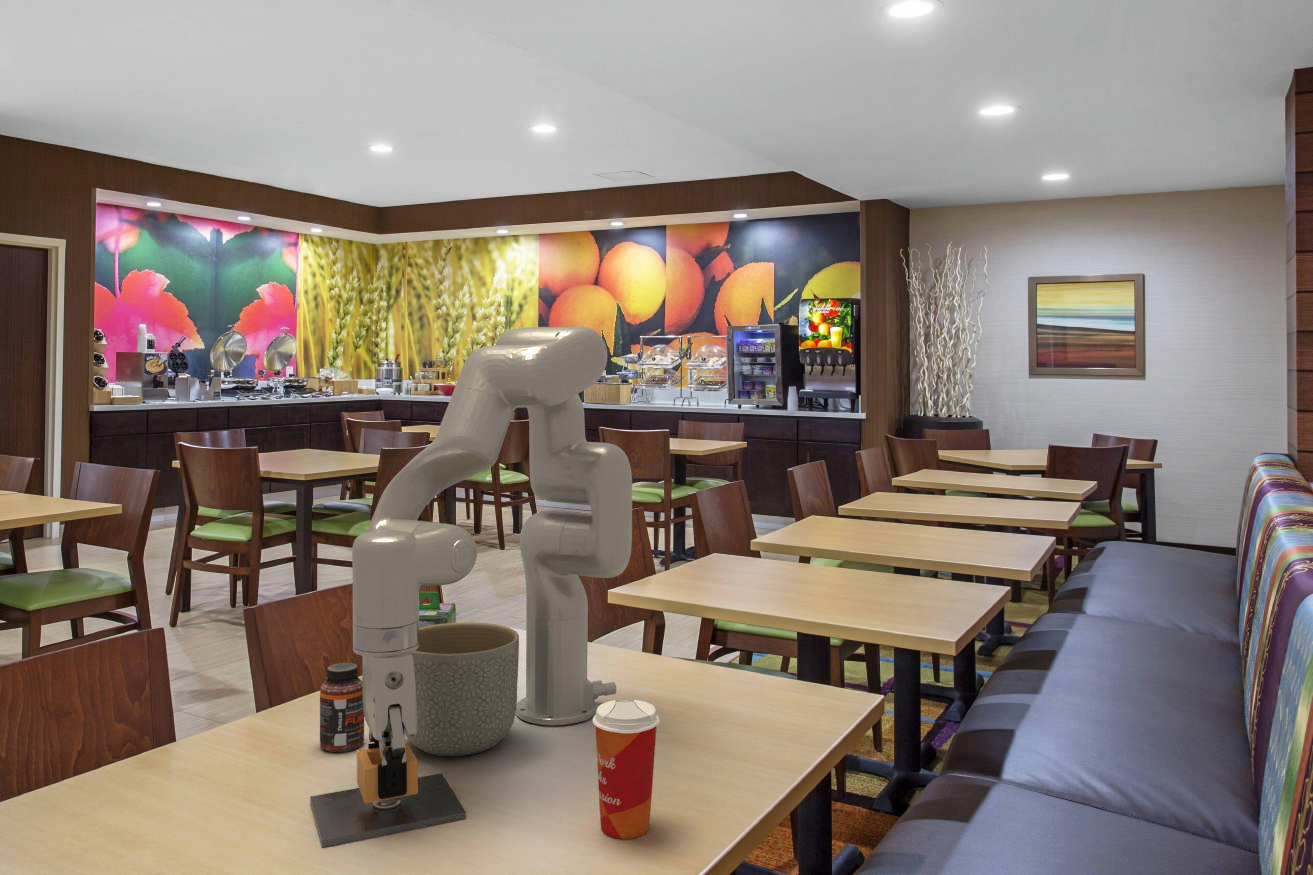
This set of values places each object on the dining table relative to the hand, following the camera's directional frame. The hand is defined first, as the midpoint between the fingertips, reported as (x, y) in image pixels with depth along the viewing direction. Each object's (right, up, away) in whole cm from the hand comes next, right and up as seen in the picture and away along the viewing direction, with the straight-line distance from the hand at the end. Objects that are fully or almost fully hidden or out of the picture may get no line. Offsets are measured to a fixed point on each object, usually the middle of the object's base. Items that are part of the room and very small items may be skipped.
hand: (387, 783), depth 110 cm
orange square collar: (0, -1, 0) cm, 1 cm away
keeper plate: (0, -3, 0) cm, 3 cm away
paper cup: (+29, -4, -4) cm, 29 cm away
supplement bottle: (-12, -2, +20) cm, 23 cm away
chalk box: (-8, -1, +53) cm, 53 cm away
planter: (+4, -2, +21) cm, 22 cm away
